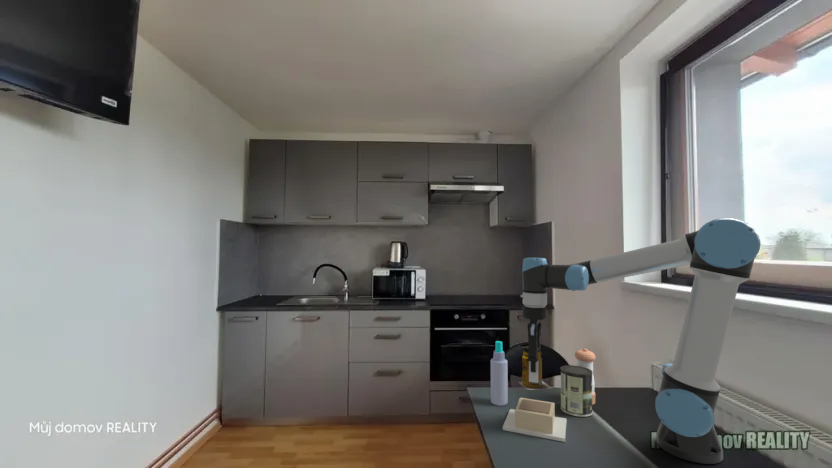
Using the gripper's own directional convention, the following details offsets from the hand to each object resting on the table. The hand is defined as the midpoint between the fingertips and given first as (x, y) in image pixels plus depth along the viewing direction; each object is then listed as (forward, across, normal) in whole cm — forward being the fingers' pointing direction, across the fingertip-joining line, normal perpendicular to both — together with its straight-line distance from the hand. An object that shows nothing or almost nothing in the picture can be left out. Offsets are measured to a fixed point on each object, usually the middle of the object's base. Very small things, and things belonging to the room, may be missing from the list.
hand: (534, 378), depth 120 cm
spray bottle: (+15, -13, -14) cm, 24 cm away
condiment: (+3, 0, 0) cm, 3 cm away
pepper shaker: (+15, -28, +15) cm, 35 cm away
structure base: (+15, 0, 0) cm, 15 cm away
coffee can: (+15, -17, +12) cm, 26 cm away
